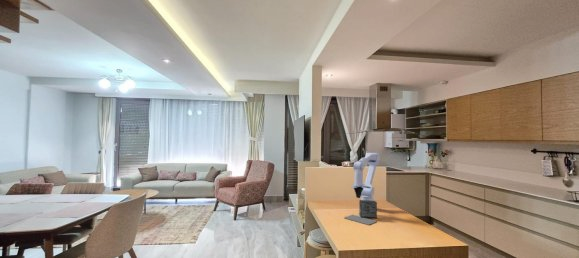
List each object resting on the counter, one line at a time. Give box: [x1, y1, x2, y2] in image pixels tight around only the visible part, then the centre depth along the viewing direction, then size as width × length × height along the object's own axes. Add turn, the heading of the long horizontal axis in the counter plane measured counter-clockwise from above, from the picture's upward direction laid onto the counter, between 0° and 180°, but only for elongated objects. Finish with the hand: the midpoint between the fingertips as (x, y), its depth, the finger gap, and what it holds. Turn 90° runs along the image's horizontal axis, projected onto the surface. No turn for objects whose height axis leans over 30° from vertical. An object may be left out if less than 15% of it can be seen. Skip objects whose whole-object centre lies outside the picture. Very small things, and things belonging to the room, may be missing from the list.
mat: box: [343, 214, 378, 226], centre depth 163 cm, size 10×18×1 cm, turn 43°
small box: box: [358, 199, 378, 219], centre depth 170 cm, size 11×6×10 cm, turn 85°
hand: (358, 197), depth 181 cm, fingers closed
